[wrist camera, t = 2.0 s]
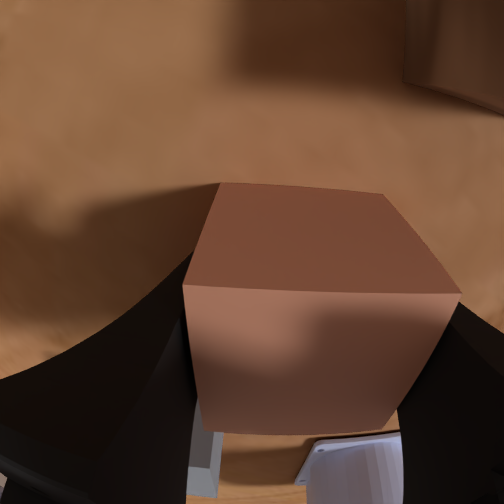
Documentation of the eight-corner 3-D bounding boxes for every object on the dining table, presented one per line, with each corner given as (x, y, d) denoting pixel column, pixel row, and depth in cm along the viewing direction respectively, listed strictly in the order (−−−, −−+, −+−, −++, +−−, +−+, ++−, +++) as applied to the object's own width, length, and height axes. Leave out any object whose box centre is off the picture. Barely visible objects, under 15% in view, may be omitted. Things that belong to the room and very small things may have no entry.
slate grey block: (224, 419, 16) (216, 498, 12) (141, 409, 16) (122, 481, 12) (221, 368, 14) (209, 468, 9) (119, 356, 14) (86, 444, 9)
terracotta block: (351, 316, 12) (381, 429, 7) (222, 312, 12) (204, 430, 8) (383, 194, 9) (462, 293, 5) (220, 182, 9) (182, 284, 5)
